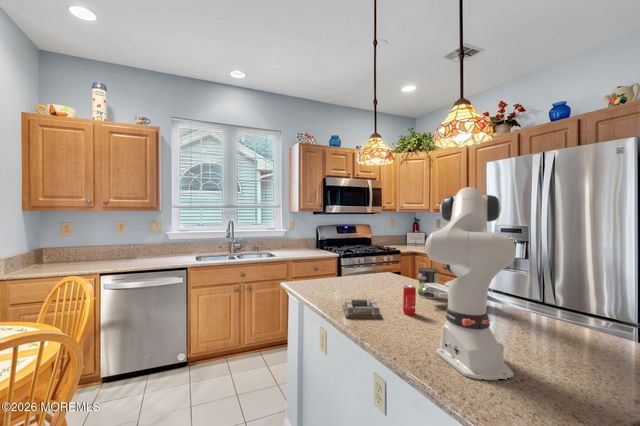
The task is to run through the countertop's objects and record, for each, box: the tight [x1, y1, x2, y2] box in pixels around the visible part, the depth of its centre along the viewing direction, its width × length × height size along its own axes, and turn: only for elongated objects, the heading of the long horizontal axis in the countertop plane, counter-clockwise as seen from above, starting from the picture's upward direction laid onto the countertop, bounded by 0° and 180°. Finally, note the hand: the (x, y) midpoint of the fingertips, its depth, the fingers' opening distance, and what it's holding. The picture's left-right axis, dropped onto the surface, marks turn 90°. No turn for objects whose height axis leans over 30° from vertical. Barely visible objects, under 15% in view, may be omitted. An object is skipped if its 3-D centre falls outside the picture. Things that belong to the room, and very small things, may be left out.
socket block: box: [341, 298, 383, 320], centre depth 137 cm, size 15×15×4 cm
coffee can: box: [417, 267, 439, 300], centre depth 165 cm, size 10×10×14 cm
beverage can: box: [402, 284, 417, 316], centre depth 137 cm, size 5×5×12 cm
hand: (430, 292), depth 142 cm, fingers open, 8 cm apart
